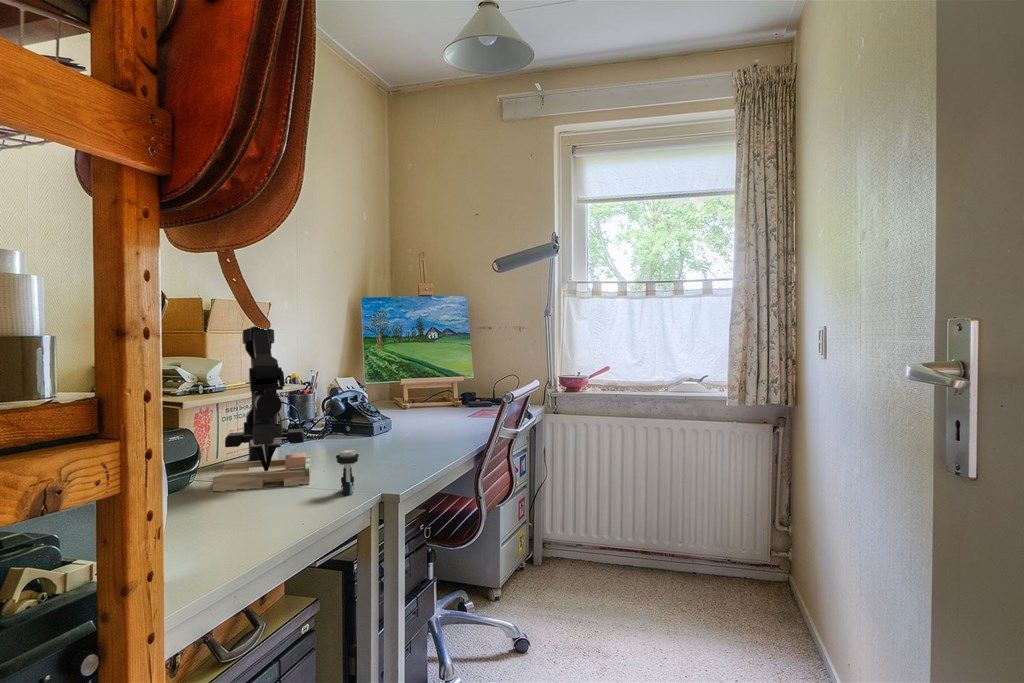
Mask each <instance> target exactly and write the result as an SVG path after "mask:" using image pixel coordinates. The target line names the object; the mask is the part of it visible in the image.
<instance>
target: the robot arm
mask: <svg viewBox="0 0 1024 683" xmlns="http://www.w3.org/2000/svg"><path fill="white" fill-rule="evenodd" d="M256 326H257V325H255V326H254V325H253V326H252V327H250V328H248V327H247V328H246V329H243V330H242V338H241V339H242V341H241V342H242V345H244V350H245V352H246V353H247V355H248V356H249V357H250V367H249V368H248V380H249V391H250V392H251V397H250V398H251V408H250V409H249V411H248V413H247V414H246V416H245V421H244V422H243V429H242V430H243V431H241V432H240V431H239V432H229V433H228V434H227V436H226V437H225V438H224V447H225V448H239V447H240V446H241V445H242V444H247V443H248V459H247V460H246V462H249V461H261V463H262V466H263V467H262V468H263V470H264V471H268V469H269V466H270V462H271V460H273V456H274V454H275V451H276V449H277V448H281V447H282V442H283V441H288V442H289V443H290V444H302V443H304V442H305V431H304V429H302V428H297V429H295V428H294V429H288V431H287V432H286V433H283V423H278V420H279V419H278V418H279V417H278V416H279V412H280V411H281V409H282V405H283V404H282V400H281V398H280V397H279V395H278V393H277V392H278V391H281V390H284V387H285V386H286V382H285V374H284V370H282V367H281V366H279V363H278V359H277V358H275V357H273V355H272V344H274V343H275V329H272V328H270V329H267V330H264V329H260V328H258V327H256ZM266 460H267V462H266Z"/></svg>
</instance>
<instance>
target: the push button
mask: <svg viewBox="0 0 1024 683" xmlns="http://www.w3.org/2000/svg"><path fill="white" fill-rule="evenodd" d="M359 456H360V454H358V453H356V450H354V449H344V450H340V451H339V453H338V454H337V455H335V459H336V463H338V464H339V465H341V466H343V467H342V468H343V470H342V471H343V473H342V477H340V483H341V485H340V493H341V494H342V495H343V496H350V495H349V494H351V495H353V488H355V485H354V483H355V476H353V472H352V471H353V470H352V465H354V464H356V463H358V461H359Z"/></svg>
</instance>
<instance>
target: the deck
mask: <svg viewBox="0 0 1024 683" xmlns="http://www.w3.org/2000/svg"><path fill="white" fill-rule="evenodd" d="M266 462H267V460H266ZM253 468H263V466H262V463H261V461H249V462H247V461H236V462H225V463H223V470H222V471H221V473H219V475H218V476H213V477H212V487H213V488H212V491H220V492H226V491H225V490H233V491H237V490H236V489H245V490H250V489H249V488H258V489H264V488H263V487H270V488H278V487H277V486H283V487H289V486H288V485H295V486H300V485H299V484H308V483H309V482H311V481H310V480H311V474H310V473H312V455H306V466H305V467H300V468H289V471H285V458H282V459H271V462H270V466H269V469H268V471H264V469H257V470H256V469H255V470H249V469H253ZM309 484H310V483H309ZM309 484H308V485H309Z"/></svg>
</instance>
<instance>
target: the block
mask: <svg viewBox="0 0 1024 683" xmlns="http://www.w3.org/2000/svg"><path fill="white" fill-rule="evenodd" d="M306 458H307V452H297V453H286V455H285V458H284V459H285V471H289V468H300V467H305V466H306Z"/></svg>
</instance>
